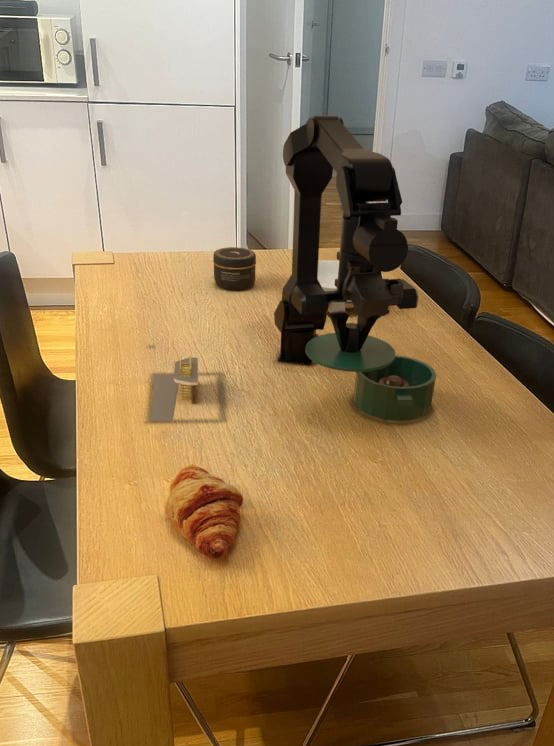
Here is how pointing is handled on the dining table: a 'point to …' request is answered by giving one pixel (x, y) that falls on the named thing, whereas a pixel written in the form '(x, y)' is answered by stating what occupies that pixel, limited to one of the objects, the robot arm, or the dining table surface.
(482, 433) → the dining table surface
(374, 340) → the lid
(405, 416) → the pot
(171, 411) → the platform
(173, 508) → the croissant
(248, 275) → the jar
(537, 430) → the dining table surface
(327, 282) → the serving bowl
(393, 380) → the mushroom
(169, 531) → the dining table surface
